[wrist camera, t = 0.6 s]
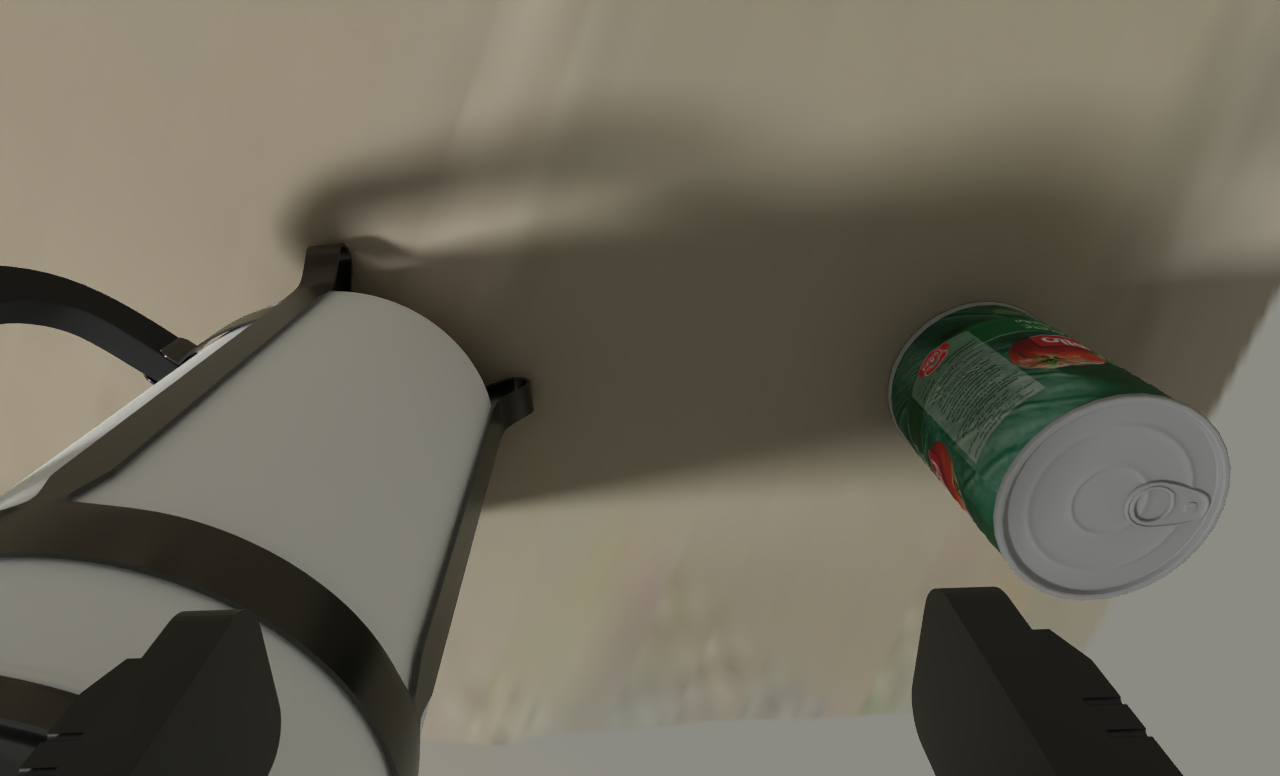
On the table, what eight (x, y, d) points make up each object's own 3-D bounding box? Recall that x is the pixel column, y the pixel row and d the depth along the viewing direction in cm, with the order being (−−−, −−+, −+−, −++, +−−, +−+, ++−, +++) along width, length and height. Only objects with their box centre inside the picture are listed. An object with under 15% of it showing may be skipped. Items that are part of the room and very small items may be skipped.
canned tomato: (870, 453, 38) (969, 595, 28) (908, 293, 35) (1034, 386, 25) (1029, 464, 39) (1182, 608, 29) (1079, 309, 36) (1269, 406, 26)
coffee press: (524, 211, 33) (134, 988, 5) (543, 541, 39) (405, 1714, 11) (93, 215, 32) (-2972, 1142, 5) (180, 551, 38) (-919, 1832, 11)
